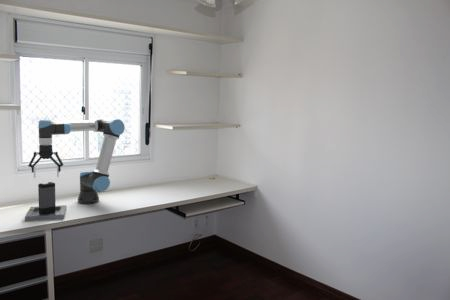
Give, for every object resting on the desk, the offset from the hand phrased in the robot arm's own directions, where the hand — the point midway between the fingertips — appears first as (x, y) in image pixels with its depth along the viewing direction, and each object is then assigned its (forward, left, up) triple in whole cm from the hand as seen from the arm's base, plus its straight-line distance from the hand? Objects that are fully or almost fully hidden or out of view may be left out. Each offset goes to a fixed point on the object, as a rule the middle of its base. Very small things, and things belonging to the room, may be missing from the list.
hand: (46, 177), depth 243 cm
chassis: (0, 0, -25) cm, 25 cm away
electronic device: (0, 0, -24) cm, 24 cm away
